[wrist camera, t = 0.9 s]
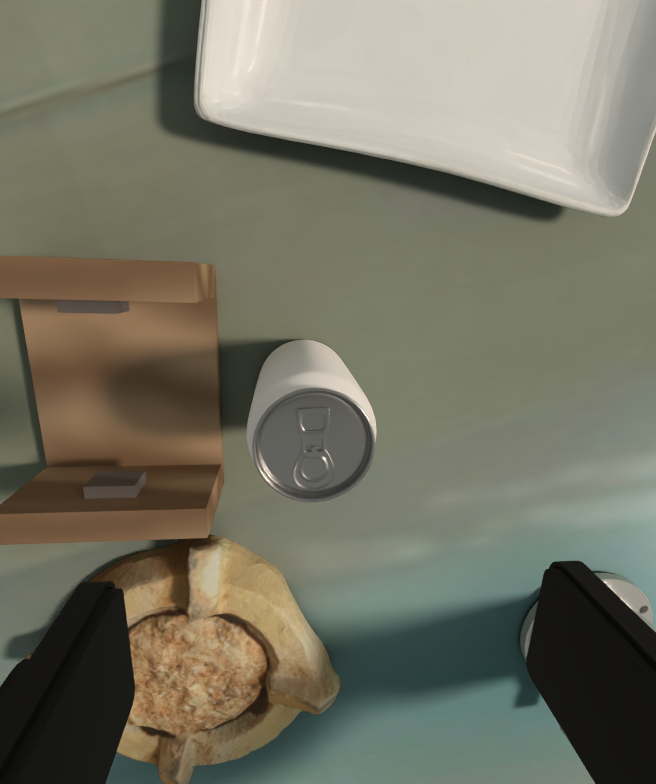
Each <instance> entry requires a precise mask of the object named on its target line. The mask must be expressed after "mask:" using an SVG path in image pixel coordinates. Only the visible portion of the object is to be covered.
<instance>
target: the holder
mask: <svg viewBox="0 0 656 784" xmlns="http://www.w3.org/2000/svg"><path fill="white" fill-rule="evenodd" d="M0 298H19V303H20V309H21V315H22V321H23V327H24V333H25V339H26V345H27V351H28V357H29V363H30V369H31V375H32V380H33V386H34V392H35V398H36V404H37V410H38V416H39V422H40V428H41V434H42V440H43V446H44V452H45V458H46V464H47V468H45V469H44V470H43V471H42V472H40V473H39V474H38V475H37V476H35V477H34V478H33V479H32V480H30V481H29V482H28V483H27V484H25V485H24V486H23V487H22V488H20V489H19V490H18V491H17V492H15V493H14V494H13V495H12V496H10V497H9V498H8V499H7V500H5V501H4V502H3V503H2V504H0V545H10V544H40V543H70V542H100V541H130V540H159V539H189V538H208V535H209V532H210V528H211V525H212V521H213V518H214V515H215V511H216V508H217V505H218V501H219V498H220V494H221V491H222V488H223V484H224V469H223V445H222V421H221V396H220V372H219V348H218V324H217V300H216V276H215V265H208V264H201V263H194V262H172V261H143V260H114V259H85V258H56V257H27V256H0Z"/></svg>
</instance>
